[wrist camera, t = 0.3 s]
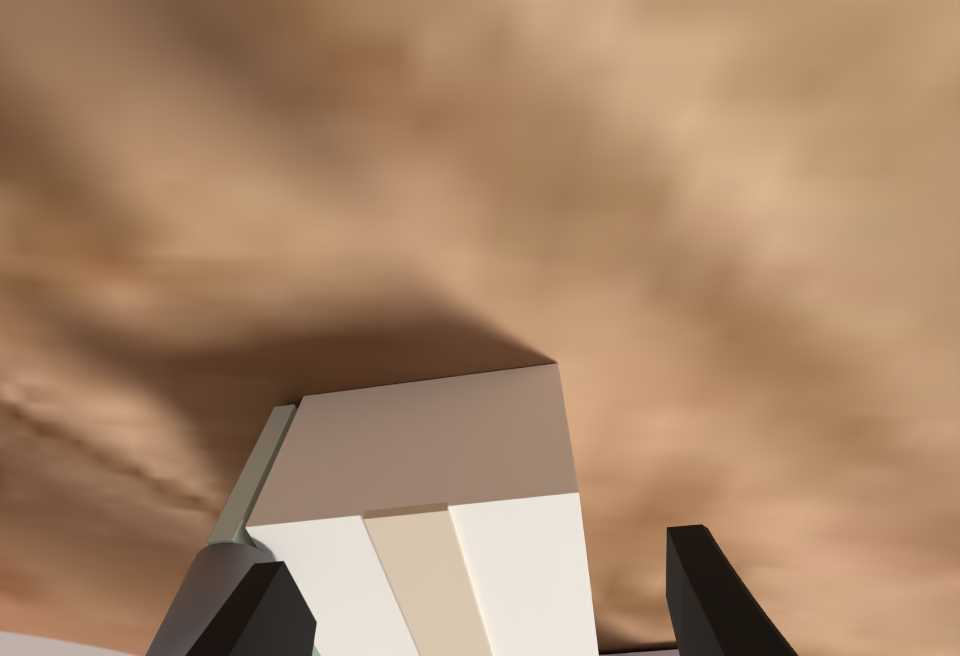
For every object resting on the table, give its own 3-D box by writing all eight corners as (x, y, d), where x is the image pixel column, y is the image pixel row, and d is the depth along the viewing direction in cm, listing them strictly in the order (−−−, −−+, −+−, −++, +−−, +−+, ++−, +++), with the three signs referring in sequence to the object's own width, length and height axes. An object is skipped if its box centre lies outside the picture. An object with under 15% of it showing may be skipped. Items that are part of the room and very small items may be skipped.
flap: (405, 612, 28) (370, 866, 20) (355, 616, 29) (301, 868, 21) (317, 401, 21) (211, 662, 13) (252, 410, 22) (108, 670, 14)
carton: (587, 595, 28) (609, 741, 23) (396, 611, 29) (374, 754, 24) (557, 362, 21) (579, 496, 15) (303, 395, 22) (241, 532, 16)
